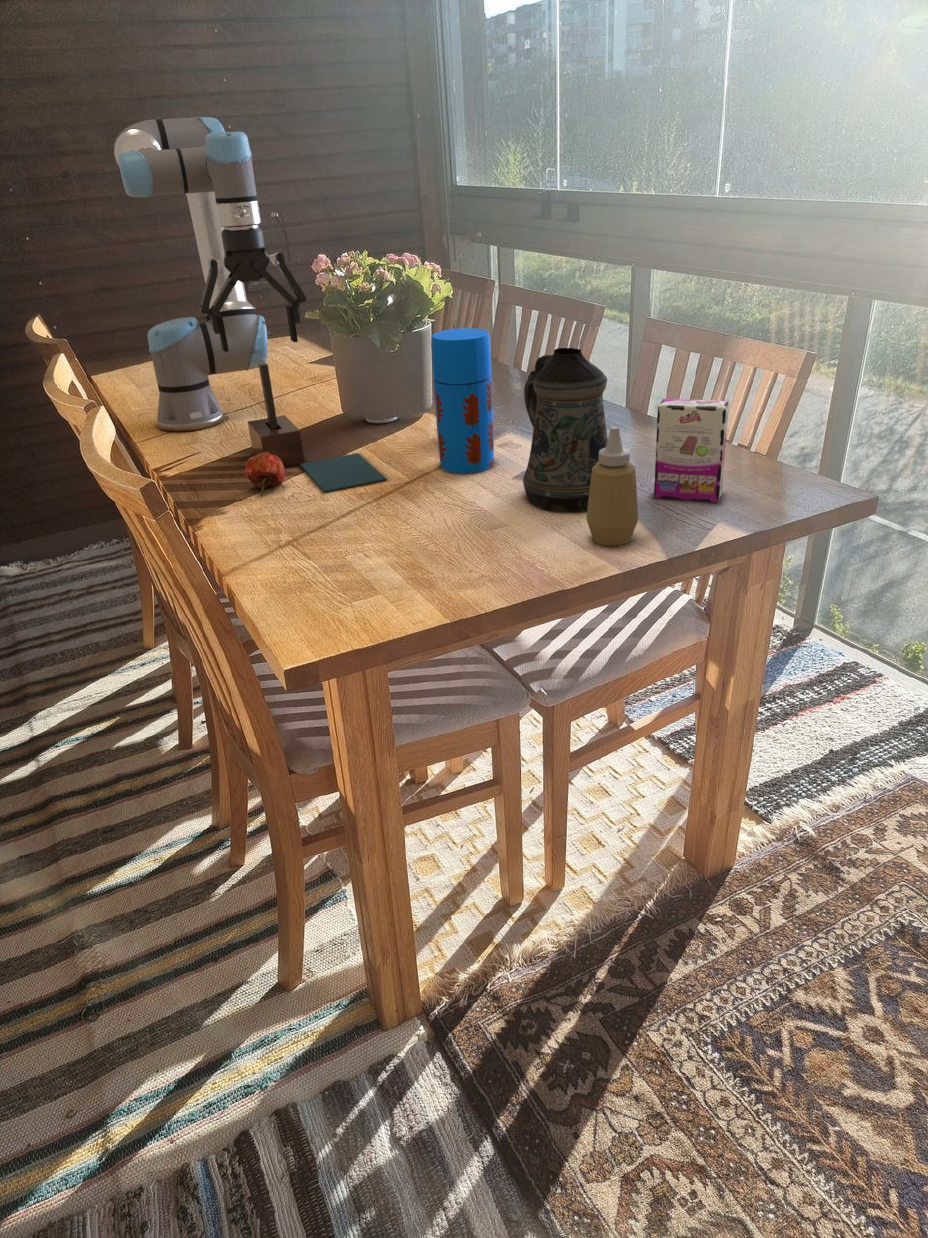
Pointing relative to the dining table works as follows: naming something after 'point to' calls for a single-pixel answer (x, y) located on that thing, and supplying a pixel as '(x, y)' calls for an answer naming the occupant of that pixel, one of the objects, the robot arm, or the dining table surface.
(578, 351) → the beer stein
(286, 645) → the dining table surface
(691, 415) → the candy bar box
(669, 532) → the dining table surface
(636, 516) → the squeeze bottle
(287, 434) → the fork stand
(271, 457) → the red round fruit
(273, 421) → the fork
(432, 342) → the thermos
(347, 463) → the mat
